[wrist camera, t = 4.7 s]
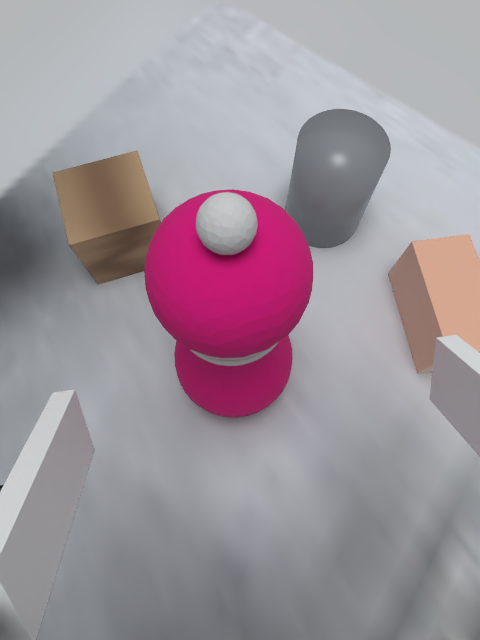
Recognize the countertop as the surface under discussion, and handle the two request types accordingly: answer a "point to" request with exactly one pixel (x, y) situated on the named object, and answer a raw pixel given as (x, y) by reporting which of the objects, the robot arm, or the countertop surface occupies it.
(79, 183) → the walnut block
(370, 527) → the countertop surface
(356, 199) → the charcoal canister
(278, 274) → the pepper mill
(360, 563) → the countertop surface
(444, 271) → the terracotta brick
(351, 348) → the countertop surface
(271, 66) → the countertop surface
